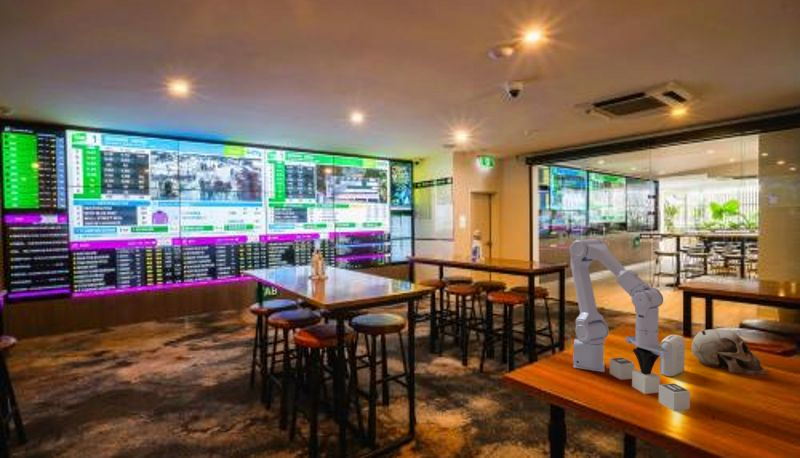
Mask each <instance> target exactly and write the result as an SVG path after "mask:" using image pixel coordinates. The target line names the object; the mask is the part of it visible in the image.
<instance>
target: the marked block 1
mask: <svg viewBox="0 0 800 458" xmlns="http://www.w3.org/2000/svg"><path fill="white" fill-rule="evenodd" d="M632 371H635V362H632V361H631V360H629V359H627V358H625V357H617V358H616V357H615V358H614V357H613V358H609V374H610V375H612V376H613V377H615V378H617V379H619V380H630V379H631V380H632Z"/></svg>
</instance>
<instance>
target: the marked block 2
mask: <svg viewBox="0 0 800 458" xmlns="http://www.w3.org/2000/svg"><path fill="white" fill-rule="evenodd" d="M690 397H691V391H690V390H688V389H686V388H684V387H683V386H680V385H678V384H676V383H666V384H665V383H664V384H660V385H659V392H658V403H659V404H661V405H663V406H665V407H666V408H668V409H669V410H672V412H675V411H683V410H684V411H686V410H690V403H691V399H690Z"/></svg>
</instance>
